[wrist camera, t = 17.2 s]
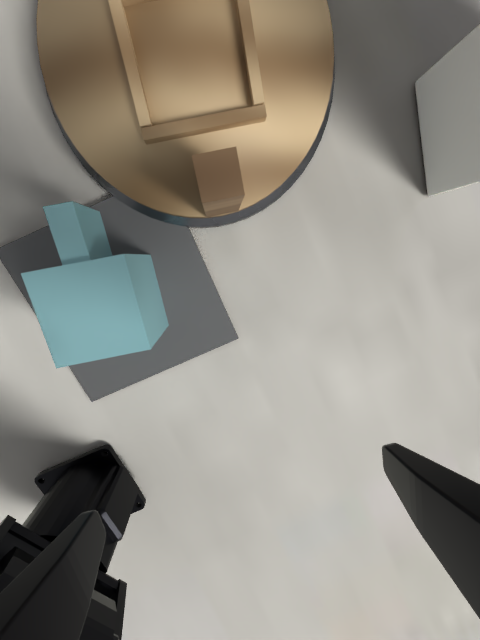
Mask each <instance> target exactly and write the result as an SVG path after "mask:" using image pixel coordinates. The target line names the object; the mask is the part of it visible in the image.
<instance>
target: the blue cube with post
mask: <svg viewBox="0 0 480 640" xmlns="http://www.w3.org/2000/svg"><path fill="white" fill-rule="evenodd" d="M43 209H44V212H45V215H46V218H47V221H48V224H49V227H50V230H51V233H52V236H53V239H54V242H55V245H56V247H57V250H58V253H59V256H60V259H61V262H62V266H57V267H52V268H46V269H41V270H36V271H31V272H25V273H21V276H22V278H23V281H24V284H25V286H26V289H27V292H28V294H29V297H30V299H31V302H32V305H33V307H34V310H35V313H36V315H37V318H38V321H39V323H40V326H41V329H42V331H43V334H44V337H45V339H46V342H47V345H48V347H49V350H50V353H51V355H52V358H53V361H54V363H55V366H56V368H60V367H65V366H70V365H75V364H80V363H85V362H90V361H95V360H100V359H105V358H110V357H115V356H120V355H125V354H130V353H135V352H140V351H145V350H150V349H151V348H152V347H153V346H154V344H155V343H156V342H157V340H158V339H159V338H160V336H161V335H162V334H163V332H164V331H165V330H166V328H167V327H168V326H169V324H168V320H167V316H166V312H165V308H164V305H163V301H162V297H161V293H160V289H159V285H158V281H157V277H156V274H155V270H154V266H153V262H152V258H151V255H144V254H120V255H115V256H113V255H112V252H111V249H110V245H109V242H108V238H107V235H106V231H105V228H104V225H103V221H102V218H101V214H100V212H99V211H97V210H94V209H91V208H89V207H86V206H84V205H81V204H78V203H76V202H73V201H71V202H65V203H60V204H55V205H49V206H44V207H43Z"/></svg>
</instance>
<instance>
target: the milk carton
mask: <svg viewBox="0 0 480 640" xmlns="http://www.w3.org/2000/svg"><path fill="white" fill-rule="evenodd" d="M415 88H416V97H417V106H418V115H419V124H420V133H421V142H422V150H423V159H424V168H425V176H426V185H427V193H428V196H434V195H438V194H441V193H445V192H448V191H451V190H455V189H458V188H462V187H465V186H469V185H472V184H476V183H479V182H480V24H479V25H478V26H477V27H476V28H475V29H474V30H472V31H471V32H470V33H469V34H468V35H467V36H466V37H465V38H464V39H462V40H461V41H460V42H459V43H458V44H457V45H456V46H455V47H454V48H452V49H451V50H450V51H449V52H448V53H447V54H446V55H445V56H444V57H442V58H441V59H440V60H439V61H438V62H437V63H436V64H435V65H433V66H432V67H431V68H430V69H429V70H428V71H427V72H426V73H425V74H423V75H422V76H421V77H420V78H419V79H418V80H417V81H416V82H415Z"/></svg>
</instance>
